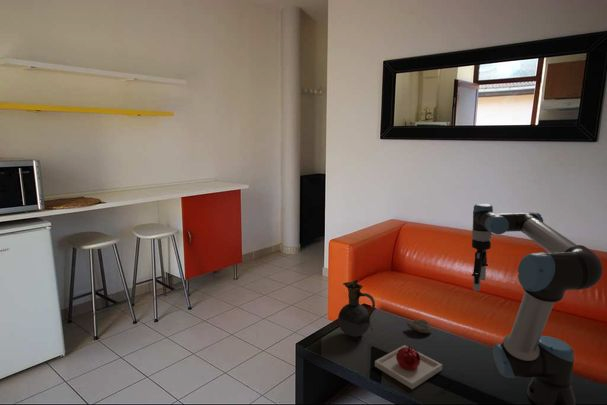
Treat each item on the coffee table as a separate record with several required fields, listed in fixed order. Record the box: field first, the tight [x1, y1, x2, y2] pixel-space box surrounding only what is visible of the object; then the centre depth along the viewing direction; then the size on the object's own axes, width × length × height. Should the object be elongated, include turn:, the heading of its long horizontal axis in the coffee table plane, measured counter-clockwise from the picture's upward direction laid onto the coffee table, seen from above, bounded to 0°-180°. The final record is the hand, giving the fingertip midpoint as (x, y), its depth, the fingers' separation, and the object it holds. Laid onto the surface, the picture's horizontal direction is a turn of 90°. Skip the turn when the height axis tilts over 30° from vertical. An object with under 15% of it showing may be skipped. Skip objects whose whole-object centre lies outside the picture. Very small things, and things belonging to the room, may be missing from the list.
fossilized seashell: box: [406, 319, 432, 335], centre depth 197 cm, size 11×11×7 cm
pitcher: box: [337, 279, 376, 341], centre depth 190 cm, size 11×19×30 cm, turn 53°
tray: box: [374, 344, 443, 390], centre depth 167 cm, size 20×20×2 cm
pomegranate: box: [396, 344, 420, 370], centre depth 166 cm, size 10×10×9 cm
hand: (479, 285), depth 173 cm, fingers open, 13 cm apart
